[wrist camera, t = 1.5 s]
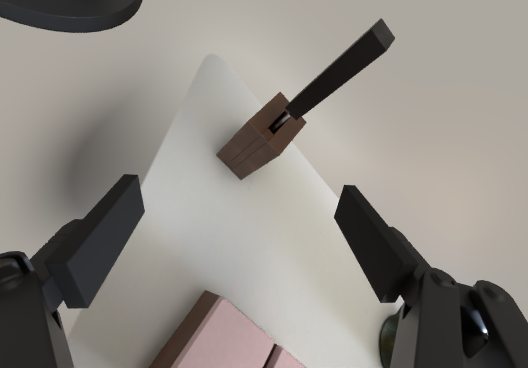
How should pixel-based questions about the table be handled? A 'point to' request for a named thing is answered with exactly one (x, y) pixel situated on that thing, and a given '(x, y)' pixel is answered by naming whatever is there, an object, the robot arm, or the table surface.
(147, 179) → the table surface
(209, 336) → the cake
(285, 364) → the cake slice
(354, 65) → the knife
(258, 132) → the knife block
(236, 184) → the table surface
